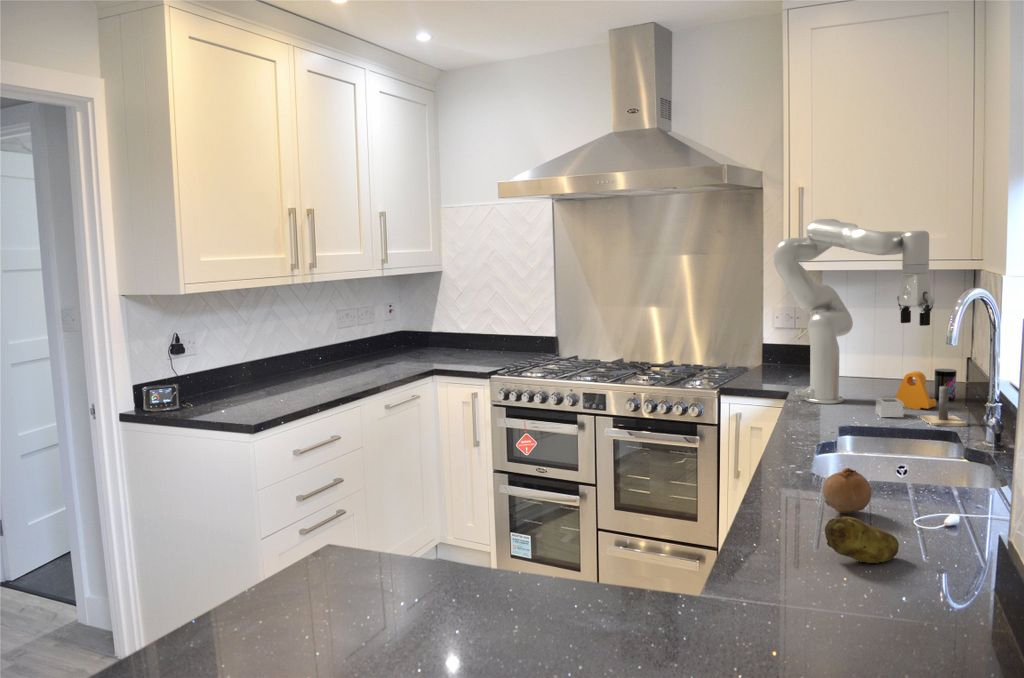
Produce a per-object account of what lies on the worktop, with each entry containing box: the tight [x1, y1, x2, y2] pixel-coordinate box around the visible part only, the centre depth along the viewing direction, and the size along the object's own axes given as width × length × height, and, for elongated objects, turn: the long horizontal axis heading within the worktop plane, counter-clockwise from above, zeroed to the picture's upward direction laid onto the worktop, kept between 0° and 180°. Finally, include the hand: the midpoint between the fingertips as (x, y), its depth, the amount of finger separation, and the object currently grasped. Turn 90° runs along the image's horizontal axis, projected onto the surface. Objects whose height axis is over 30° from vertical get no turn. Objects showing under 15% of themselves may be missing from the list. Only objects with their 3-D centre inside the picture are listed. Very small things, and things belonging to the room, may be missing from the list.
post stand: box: [919, 386, 968, 427], centre depth 242 cm, size 10×10×11 cm
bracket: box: [894, 370, 937, 410], centre depth 265 cm, size 11×7×12 cm, turn 42°
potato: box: [824, 515, 900, 564], centre depth 143 cm, size 8×13×8 cm, turn 75°
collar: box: [875, 397, 904, 418], centre depth 254 cm, size 6×6×5 cm
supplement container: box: [933, 368, 958, 402], centre depth 274 cm, size 7×7×10 cm
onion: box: [822, 467, 873, 514], centre depth 167 cm, size 10×9×10 cm
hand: (915, 324), depth 252 cm, fingers open, 9 cm apart
